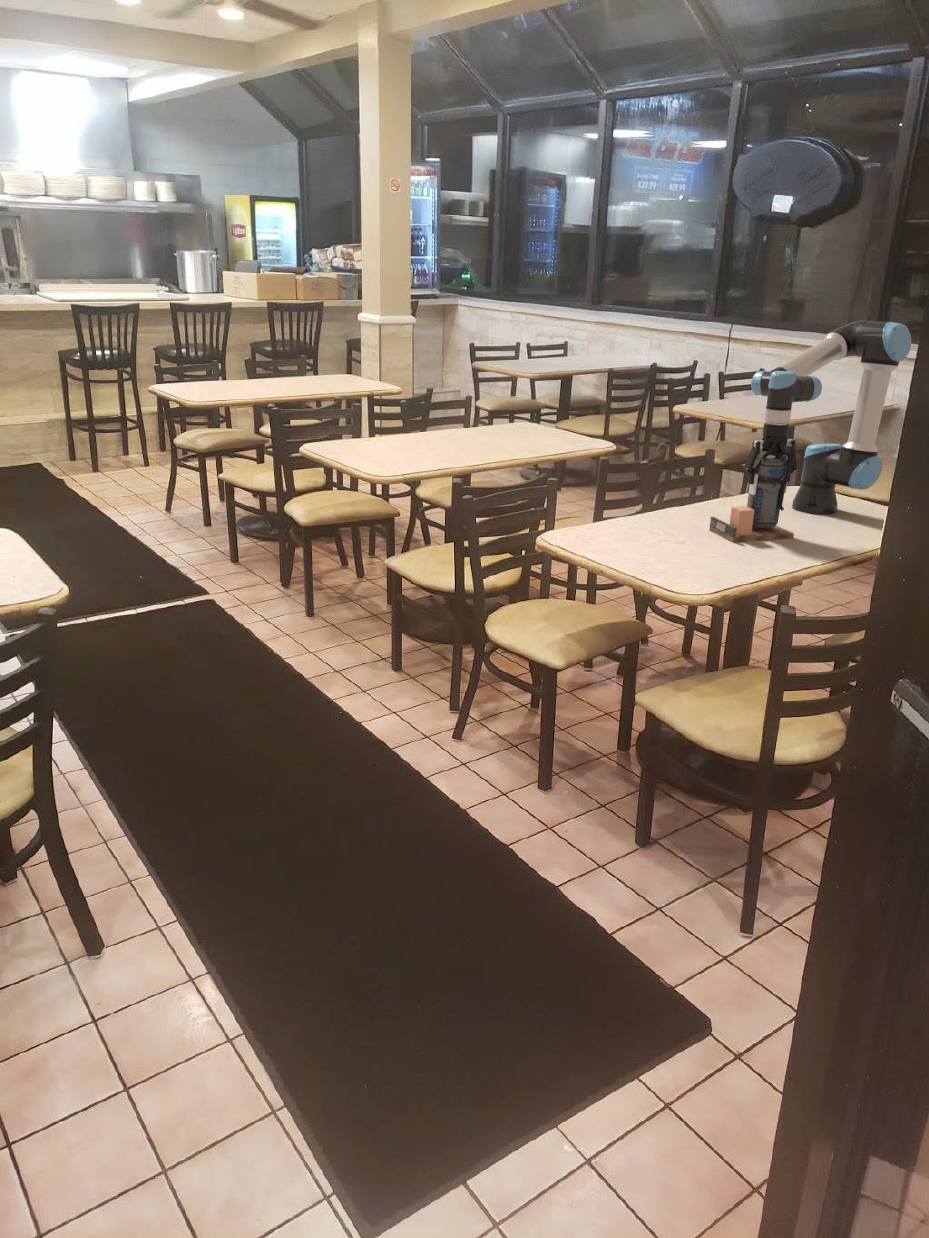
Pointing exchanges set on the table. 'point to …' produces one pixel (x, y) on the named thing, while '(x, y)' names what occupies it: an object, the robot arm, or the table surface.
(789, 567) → the table surface
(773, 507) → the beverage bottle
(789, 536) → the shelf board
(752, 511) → the carton block
